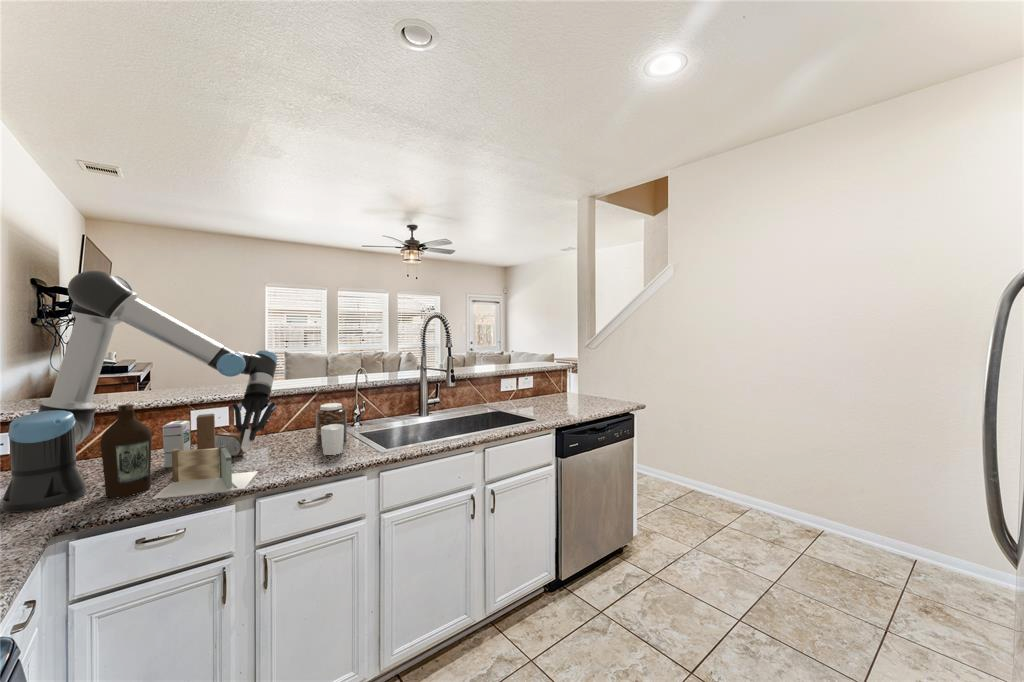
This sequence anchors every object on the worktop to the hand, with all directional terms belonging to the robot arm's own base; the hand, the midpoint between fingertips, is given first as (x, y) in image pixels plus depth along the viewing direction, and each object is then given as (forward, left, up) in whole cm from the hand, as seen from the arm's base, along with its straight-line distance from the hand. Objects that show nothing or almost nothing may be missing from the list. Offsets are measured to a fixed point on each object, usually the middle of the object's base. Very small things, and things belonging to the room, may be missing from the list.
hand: (244, 449), depth 129 cm
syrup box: (-25, +20, -9) cm, 33 cm away
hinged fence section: (-3, -6, -8) cm, 10 cm away
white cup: (+24, +17, -9) cm, 30 cm away
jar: (+22, +34, -9) cm, 41 cm away
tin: (-12, +26, -9) cm, 30 cm away
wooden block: (-16, +11, -9) cm, 21 cm away
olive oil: (-28, -3, -9) cm, 30 cm away
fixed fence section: (-12, +1, -9) cm, 15 cm away
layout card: (-8, -5, -9) cm, 13 cm away
